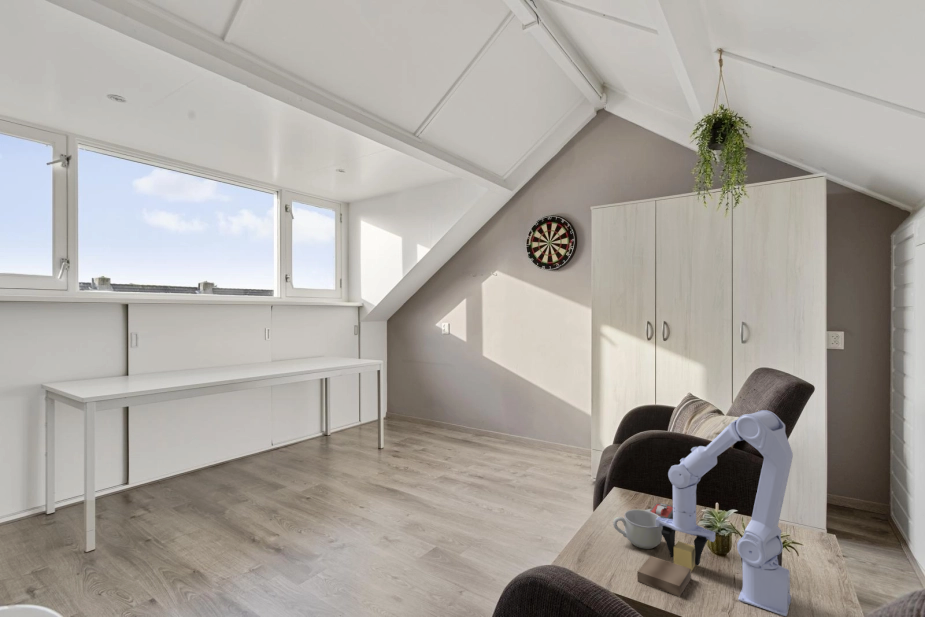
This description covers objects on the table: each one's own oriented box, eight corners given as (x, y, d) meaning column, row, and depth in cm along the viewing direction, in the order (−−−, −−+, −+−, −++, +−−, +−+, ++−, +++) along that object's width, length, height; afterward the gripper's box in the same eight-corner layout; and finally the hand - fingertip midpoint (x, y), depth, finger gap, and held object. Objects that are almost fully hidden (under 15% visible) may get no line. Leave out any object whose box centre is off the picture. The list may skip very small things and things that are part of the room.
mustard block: (695, 564, 126) (695, 546, 126) (691, 571, 123) (691, 552, 123) (678, 559, 129) (678, 541, 129) (673, 565, 126) (673, 547, 126)
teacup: (660, 538, 141) (660, 511, 141) (666, 555, 131) (665, 527, 131) (612, 532, 145) (612, 506, 145) (613, 549, 135) (613, 521, 135)
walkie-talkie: (650, 508, 164) (633, 529, 148) (650, 495, 164) (633, 515, 148) (677, 514, 159) (663, 537, 142) (677, 501, 159) (662, 522, 143)
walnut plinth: (690, 578, 119) (690, 568, 119) (679, 596, 112) (679, 586, 112) (650, 565, 126) (650, 555, 126) (637, 581, 118) (637, 571, 118)
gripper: (717, 511, 125) (718, 562, 124) (661, 497, 134) (661, 545, 134) (711, 520, 119) (711, 574, 119) (653, 505, 128) (653, 555, 128)
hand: (684, 559), depth 126 cm, fingers open, 6 cm apart
